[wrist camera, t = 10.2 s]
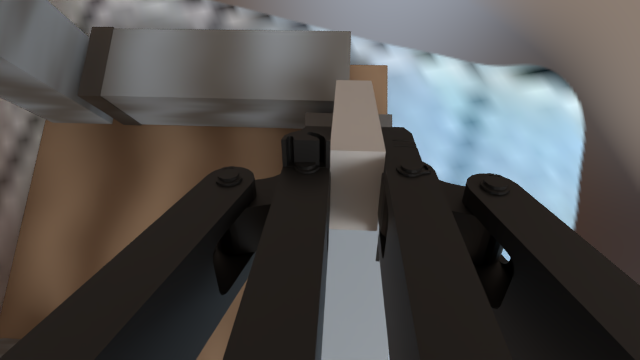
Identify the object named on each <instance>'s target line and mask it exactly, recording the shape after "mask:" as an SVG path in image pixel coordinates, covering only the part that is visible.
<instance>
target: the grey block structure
mask: <svg viewBox="0 0 640 360" xmlns="http://www.w3.org/2000/svg"><path fill="white" fill-rule="evenodd" d="M350 45H351V32H350V31H275V30H192V29H114V27H92V30H91V35H90V38H89V37H88V36H87V35H86V34H85V33H83V32H82V31H81V30H80V29H79V28H78V27H77V26H76V25H75V24H73V23H72V22H71V21H70V20H69V19H68V18H67V17H66V16H65V15H63V14H62V13H61V12H60V11H59V10H58V9H57V8H56V7H55V6H53V5H52V4H51V3H50V2H49V1H48V0H0V97H1V98H3V99H5V100H7V101H9V102H11V103H13V104H15V105H17V106H19V107H21V108H23V109H25V110H28V111H30V112H32V113H34V114H36V115H38V116H40V117H42V118H44V119H46V121H45V125H44V129H43V134H42V138H41V142H40V147H39V151H38V155H37V160H36V164H35V168H34V172H33V177H32V181H31V185H30V190H29V194H28V198H27V203H26V207H25V211H24V215H23V220H22V224H21V228H20V233H19V237H18V241H17V246H16V250H15V254H14V259H13V263H12V267H11V271H10V276H9V280H8V284H7V289H6V293H5V297H4V302H3V306H2V310H1V314H0V357H1V356H2V355H4V354H5V353H6V352H7V351H8V350H9V349H10V348H12V347H13V346H14V345H15V344H16V343H17V342H18V341H20V340H21V339H22V338H23V337H24V336H25V335H26V334H27V333H29V332H30V331H31V330H32V329H33V328H34V327H35V326H37V325H38V324H39V323H40V322H41V321H42V320H43V319H44V318H46V317H47V316H48V315H49V314H50V313H51V312H52V311H54V310H55V309H56V308H57V307H58V306H59V305H60V304H62V303H63V302H64V301H65V300H66V299H67V298H68V297H69V296H71V295H72V294H73V293H74V292H75V291H76V290H77V289H79V288H80V287H81V286H82V285H83V284H84V283H85V282H86V281H88V280H89V279H90V278H91V277H92V276H93V275H94V274H96V273H97V272H98V271H99V270H100V269H101V268H102V267H103V266H105V265H106V264H107V263H108V262H109V261H110V260H111V259H113V258H114V257H115V256H116V255H117V254H118V253H119V252H121V251H122V250H123V249H124V248H125V247H126V246H127V245H128V244H130V243H131V242H132V241H133V240H134V239H135V238H136V237H138V236H139V235H140V234H141V233H142V232H143V231H144V230H145V229H147V228H148V227H149V226H150V225H151V224H152V223H153V222H155V221H156V220H157V219H158V218H159V217H160V216H161V215H163V214H164V213H165V212H166V211H167V210H168V209H169V208H170V207H172V206H173V205H174V204H175V203H176V202H177V201H178V200H180V199H181V198H182V197H183V196H184V195H185V194H186V193H187V192H189V191H190V190H191V189H192V188H193V187H194V186H195V185H197V184H198V183H199V182H200V181H201V180H202V179H203V178H205V177H206V176H207V175H208V174H210V173H211V172H213V171H215V170H218V169H221V168H223V167H229V166H235V167H243V168H246V169H249V170H250V171H251V172H253V174H254V178H255V180H258V179H265V178H270V177H274V176H276V175H279V174H281V170H282V167H283V163H282V148H281V139H282V138H283V137H284V135H287V134H289V133H291V132H295V131H300V130H302V129H303V128H304V127H305V114H306V112H308V113H333V110H334V100H335V89H336V80H361V81H372V85H373V90H374V95H375V100H376V105H377V110H378V114H387V66H386V65H350ZM246 283H247V280H246V282H245V283H244V285H243V287H242V288H241V290H240V291H239V293H238V294H237V296H236V298H235V299H234V301H233V302H232V304H231V305H230V307H229V309H228V310H227V312H226V313H225V315H224V316H223V318H222V320H221V321H220V323H219V324H218V326H217V327H216V329H215V331H214V332H213V334H212V335H211V337H210V338H209V340H208V341H207V343H206V345H205V346H204V348H203V349H202V351H201V352H200V354H199V356H198V357H197V359H196V360H223V356H224V353H225V350H226V347H227V344H228V340H229V337H230V334H231V331H232V328H233V324H234V321H235V318H236V315H237V312H238V308H239V305H240V302H241V299H242V295H243V292H244V289H245V286H246Z"/></svg>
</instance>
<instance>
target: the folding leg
mask: <svg viewBox="0 0 640 360" xmlns="http://www.w3.org/2000/svg"><path fill="white" fill-rule="evenodd" d="M378 115H379V120H380V125H381V127H392V115H390V114H378ZM332 121H333V113H308V112H306V114H305V126H327V127H332ZM378 235H379V222H378V227H377V231H362V230H339V229H329V246H328V261H327V277H326V293H325V309H324V324H323V340H322V356H321V360H388V349H389V348H388V338H387V328H386V318H385V309H384V299H383V289H382V280H381V270H380V260H379V262H378V261H376V252H377V244H378Z"/></svg>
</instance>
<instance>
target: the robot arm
mask: <svg viewBox="0 0 640 360" xmlns="http://www.w3.org/2000/svg"><path fill="white" fill-rule="evenodd" d="M281 148H282V163H283V167H282V170H281V174H279V175H276V176H274V177H270V178H265V179H258V180H255V178H254V174H253V172H251V171H250V170H249V169H246V168H243V167H235V166H229V167H223V168H221V169H218V170H215V171H213V172H211V173H210V174H208V175H207V176H206V177H205V178H203V179H202V180H201V181H200V182H199V183H198V184H197V185H195V186H194V187H193V188H192V189H191V190H190V191H189V192H187V193H186V194H185V195H184V196H183V197H182V198H181V199H180V200H178V201H177V202H176V203H175V204H174V205H173V206H172V207H170V208H169V209H168V210H167V211H166V212H165V213H164V214H163V215H161V216H160V217H159V218H158V219H157V220H156V221H155V222H153V223H152V224H151V225H150V226H149V227H148V228H147V229H145V230H144V231H143V232H142V233H141V234H140V235H139V236H138V237H136V238H135V239H134V240H133V241H132V242H131V243H130V244H128V245H127V246H126V247H125V248H124V249H123V250H122V251H121V252H119V253H118V254H117V255H116V256H115V257H114V258H113V259H111V260H110V261H109V262H108V263H107V264H106V265H105V266H103V267H102V268H101V269H100V270H99V271H98V272H97V273H96V274H94V275H93V276H92V277H91V278H90V279H89V280H88V281H86V282H85V283H84V284H83V285H82V286H81V287H80V288H79V289H77V290H76V291H75V292H74V293H73V294H72V295H71V296H69V297H68V298H67V299H66V300H65V301H64V302H63V303H62V304H60V305H59V306H58V307H57V308H56V309H55V310H54V311H52V312H51V313H50V314H49V315H48V316H47V317H46V318H44V319H43V320H42V321H41V322H40V323H39V324H38V325H37V326H35V327H34V328H33V329H32V330H31V331H30V332H29V333H27V334H26V335H25V336H24V337H23V338H22V339H21V340H20V341H18V342H17V343H16V344H15V345H14V346H13V347H12V348H10V349H9V350H8V351H7V352H6V353H5V354H4V355H2V356H1V357H0V360H196V359H197V357H198V356H199V354H200V352H201V351H202V349H203V348H204V346H205V345H206V343H207V341H208V340H209V338H210V337H211V335H212V334H213V332H214V331H215V329H216V327H217V326H218V324H219V323H220V321H221V320H222V318H223V316H224V315H225V313H226V312H227V310H228V309H229V307H230V305H231V304H232V302H233V301H234V299H235V298H236V296H237V294H238V293H239V291H240V290H241V288H242V287H243V285H244V283H245V282H246V280H247V283H246V286H245V289H244V292H243V295H242V299H241V302H240V305H239V308H238V312H237V315H236V318H235V321H234V324H233V328H232V331H231V334H230V337H229V340H228V344H227V347H226V350H225V353H224V356H223V360H321V356H322V340H323V324H324V309H325V293H326V277H327V261H328V246H329V229H339V230H362V231H377V227H378V222H379V235H378V244H377V252H376V261H378V262H379V260H380V270H381V280H382V289H383V299H384V309H385V318H386V328H387V338H388V348H389V357H390V360H640V285H638V284H637V283H636V282H635V281H634V280H632V279H631V278H630V277H629V276H628V275H626V274H625V273H624V272H623V271H622V270H620V269H619V268H618V267H617V266H616V265H614V264H613V263H612V262H611V261H609V260H608V259H607V258H606V257H605V256H604V255H602V254H601V253H600V252H599V251H598V250H596V249H595V248H594V247H593V246H591V245H590V244H589V243H588V242H587V241H585V240H584V239H583V238H582V237H581V236H579V235H578V234H577V233H576V232H575V231H573V230H572V229H571V228H570V227H569V226H567V225H566V224H565V223H564V222H563V221H561V220H560V219H559V218H558V217H557V216H555V215H554V214H553V213H552V212H550V211H549V210H548V209H547V208H546V207H544V206H543V205H542V204H541V203H540V202H538V201H537V200H536V199H535V198H534V197H532V196H531V195H530V194H529V193H528V192H526V191H525V190H524V189H523V188H522V187H520V186H519V185H518V184H516V183H515V182H513V181H512V180H510V179H507V178H505V177H502V176H501V175H497V174H495V175H494V174H490V173H488V174H476V175H472V176H471V177H469V178H468V179H467V182H466V186H460V185H455V184H450V183H447V182H443V181H441V180H439V179H438V177H437V175H436V172H435V170H434V169H433V168H432V167H431V166H430V165H428V164H426V163H424V162H422V160H421V157H420V155H419V152H418V149H417V148H416V144H415V142H414V138H413V136H412V133H410V132H409V131H408V130H406V129H405V128H404V127H381V125H380V120H379V115H378V110H377V105H376V100H375V95H374V90H373V85H372V81H361V80H336V89H335V100H334V110H333V121H332V127H327V126H305V127H304V128H303V129H302V130H300V131H295V132H291V133H289V134H287V135H284V137H283V138H282V139H281ZM503 248H504V249H505V250H506V252H507V253H508V254H509V256H510V257H511V259H510V261H509V262H508V261H507V260H506V259H505V258H504V257H503V256H502V254H501V253H502V250H503Z"/></svg>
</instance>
